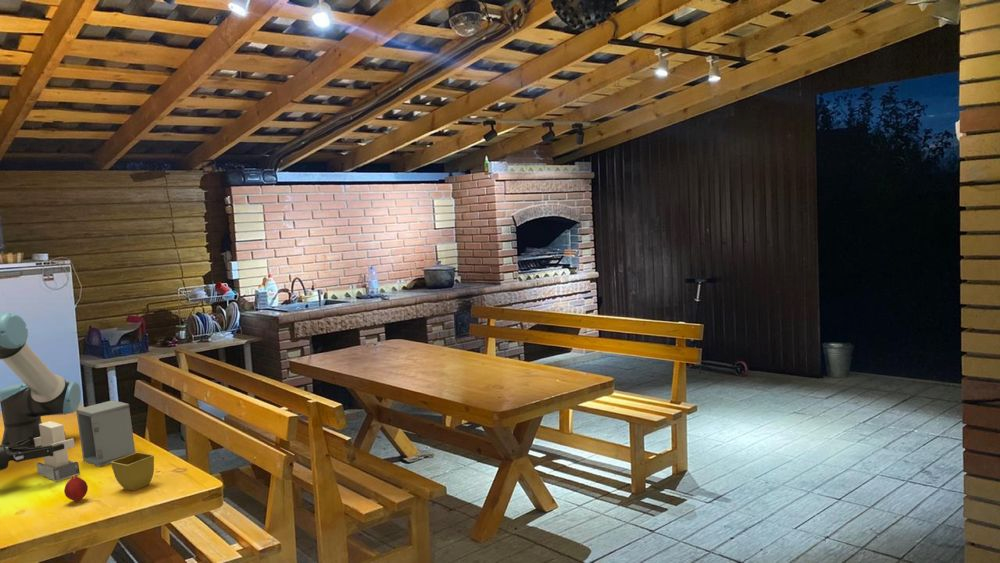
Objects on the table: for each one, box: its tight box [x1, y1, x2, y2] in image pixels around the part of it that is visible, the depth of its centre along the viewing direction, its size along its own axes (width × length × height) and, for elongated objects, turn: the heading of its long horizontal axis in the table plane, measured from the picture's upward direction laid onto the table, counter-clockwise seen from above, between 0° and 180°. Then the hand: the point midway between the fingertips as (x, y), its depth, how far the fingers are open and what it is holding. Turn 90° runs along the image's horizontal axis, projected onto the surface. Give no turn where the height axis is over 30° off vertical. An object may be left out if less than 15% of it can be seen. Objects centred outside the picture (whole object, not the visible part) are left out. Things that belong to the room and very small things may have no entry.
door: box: [39, 420, 70, 468], centre depth 240 cm, size 10×4×16 cm, turn 51°
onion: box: [64, 475, 89, 503], centre depth 214 cm, size 6×6×8 cm
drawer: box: [35, 459, 81, 483], centre depth 240 cm, size 15×7×4 cm, turn 51°
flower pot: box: [110, 451, 155, 492], centre depth 222 cm, size 9×9×9 cm
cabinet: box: [75, 400, 136, 468], centre depth 251 cm, size 13×12×18 cm
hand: (65, 439), depth 242 cm, fingers open, 13 cm apart
